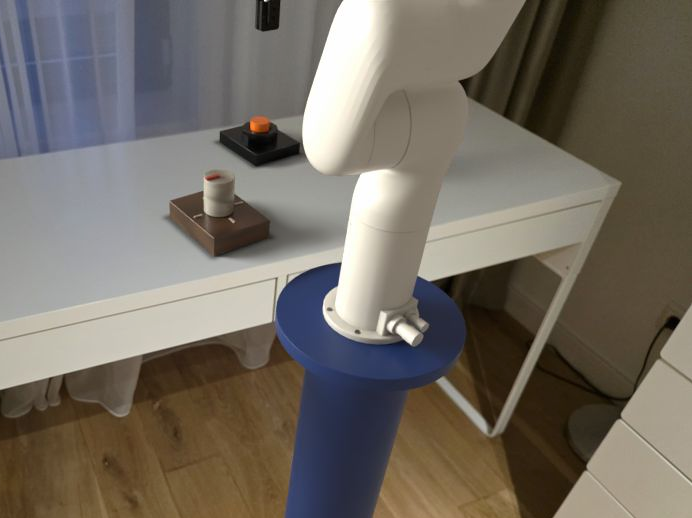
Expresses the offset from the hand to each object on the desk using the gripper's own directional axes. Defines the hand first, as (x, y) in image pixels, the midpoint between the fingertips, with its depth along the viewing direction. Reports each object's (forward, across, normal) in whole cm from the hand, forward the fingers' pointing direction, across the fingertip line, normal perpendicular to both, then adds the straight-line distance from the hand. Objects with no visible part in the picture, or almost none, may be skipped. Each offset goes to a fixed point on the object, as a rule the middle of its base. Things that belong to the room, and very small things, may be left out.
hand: (267, 29), depth 96 cm
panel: (+25, +7, -13) cm, 29 cm away
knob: (+22, +7, -13) cm, 27 cm away
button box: (+25, -13, +9) cm, 29 cm away
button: (+21, -13, +9) cm, 26 cm away
